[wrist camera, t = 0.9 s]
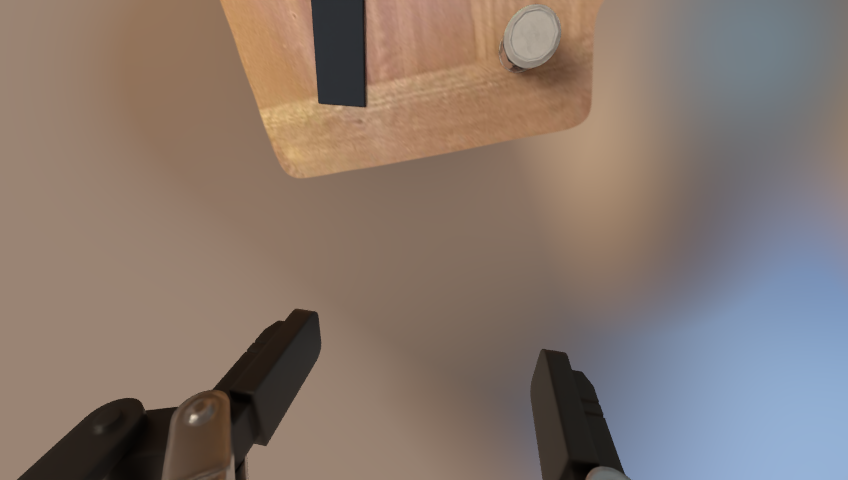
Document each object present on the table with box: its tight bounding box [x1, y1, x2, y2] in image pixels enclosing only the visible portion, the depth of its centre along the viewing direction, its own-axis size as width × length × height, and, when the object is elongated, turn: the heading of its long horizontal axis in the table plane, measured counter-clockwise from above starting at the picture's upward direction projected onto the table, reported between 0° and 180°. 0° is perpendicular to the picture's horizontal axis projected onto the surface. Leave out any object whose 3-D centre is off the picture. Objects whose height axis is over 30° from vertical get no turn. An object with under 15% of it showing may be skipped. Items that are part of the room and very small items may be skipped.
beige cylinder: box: [499, 4, 561, 73], centre depth 33 cm, size 5×5×12 cm
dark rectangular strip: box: [311, 0, 366, 107], centre depth 41 cm, size 15×6×1 cm, turn 177°
